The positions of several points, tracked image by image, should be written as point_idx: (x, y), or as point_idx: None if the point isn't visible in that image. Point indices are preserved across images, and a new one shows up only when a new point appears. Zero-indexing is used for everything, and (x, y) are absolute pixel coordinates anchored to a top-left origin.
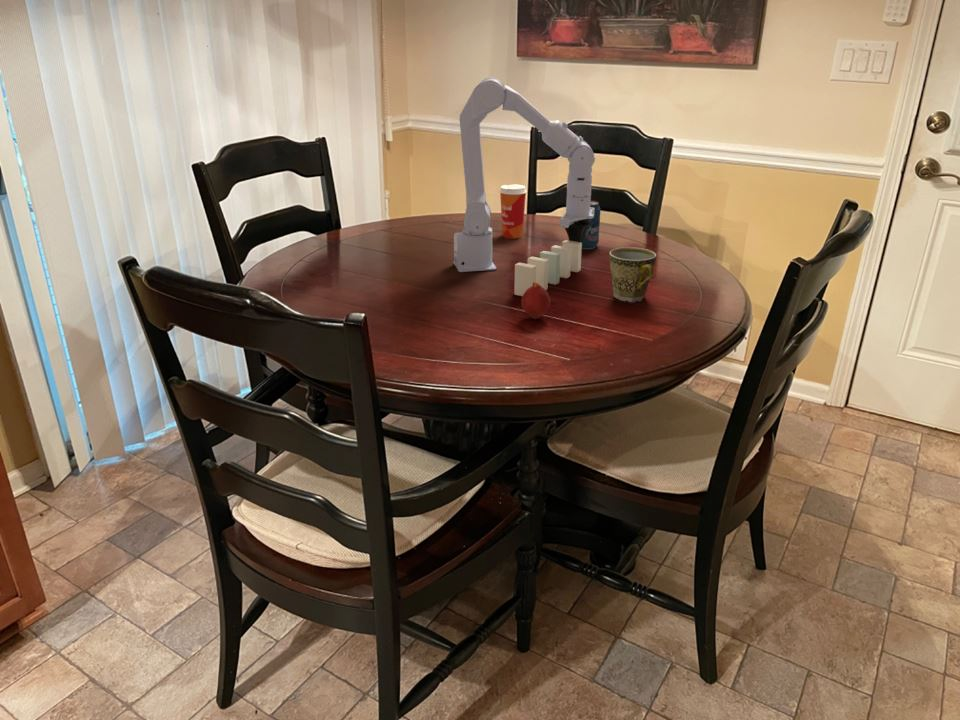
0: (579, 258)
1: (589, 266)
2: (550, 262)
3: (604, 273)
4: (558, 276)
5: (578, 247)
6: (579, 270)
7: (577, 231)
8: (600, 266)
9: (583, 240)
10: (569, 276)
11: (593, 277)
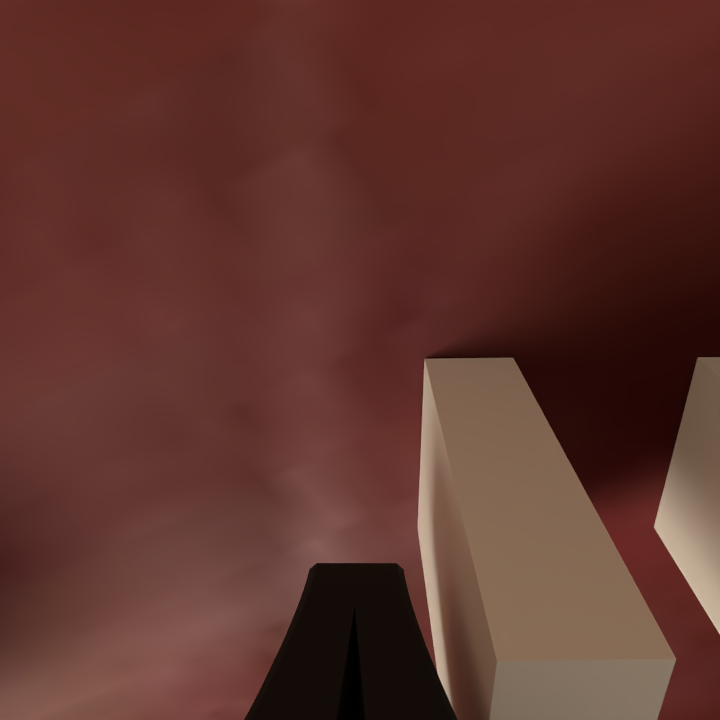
0: (503, 449)
1: (222, 340)
2: None
3: (374, 26)
4: None
5: (634, 599)
6: (453, 361)
7: None
8: (128, 228)
9: (272, 696)
10: (713, 358)
11: (628, 83)
